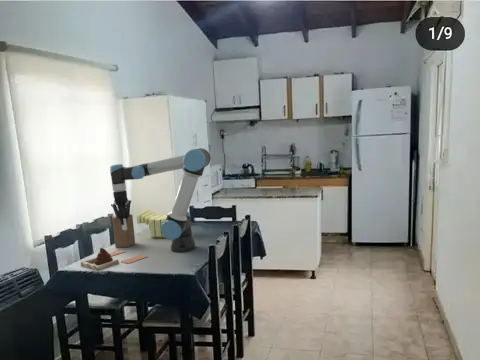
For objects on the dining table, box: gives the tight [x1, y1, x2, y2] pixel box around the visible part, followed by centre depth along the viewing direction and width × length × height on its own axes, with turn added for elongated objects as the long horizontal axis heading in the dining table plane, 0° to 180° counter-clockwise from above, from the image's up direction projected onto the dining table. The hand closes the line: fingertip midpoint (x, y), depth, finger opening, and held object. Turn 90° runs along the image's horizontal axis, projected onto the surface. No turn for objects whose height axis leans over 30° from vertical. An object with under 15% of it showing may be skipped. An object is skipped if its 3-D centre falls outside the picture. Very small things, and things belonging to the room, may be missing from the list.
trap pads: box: [108, 249, 149, 265], centre depth 247 cm, size 29×14×1 cm, turn 50°
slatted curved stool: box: [136, 208, 168, 239], centre depth 291 cm, size 30×16×18 cm, turn 75°
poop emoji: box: [94, 247, 114, 265], centre depth 237 cm, size 10×8×9 cm
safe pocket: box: [80, 256, 120, 271], centre depth 235 cm, size 17×14×2 cm
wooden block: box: [112, 213, 136, 248], centre depth 272 cm, size 10×10×20 cm
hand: (124, 229), depth 246 cm, fingers closed
